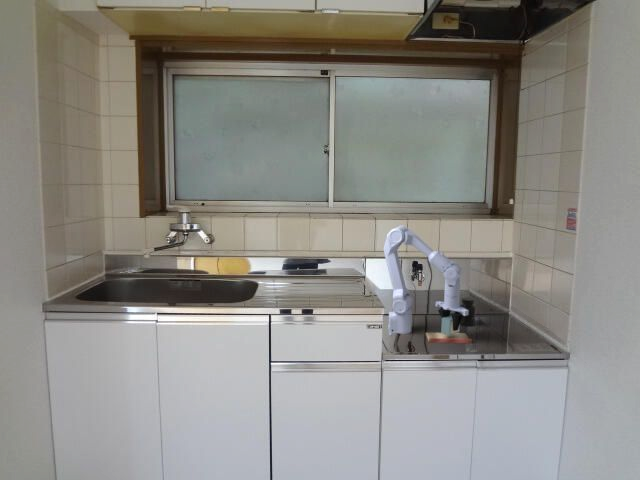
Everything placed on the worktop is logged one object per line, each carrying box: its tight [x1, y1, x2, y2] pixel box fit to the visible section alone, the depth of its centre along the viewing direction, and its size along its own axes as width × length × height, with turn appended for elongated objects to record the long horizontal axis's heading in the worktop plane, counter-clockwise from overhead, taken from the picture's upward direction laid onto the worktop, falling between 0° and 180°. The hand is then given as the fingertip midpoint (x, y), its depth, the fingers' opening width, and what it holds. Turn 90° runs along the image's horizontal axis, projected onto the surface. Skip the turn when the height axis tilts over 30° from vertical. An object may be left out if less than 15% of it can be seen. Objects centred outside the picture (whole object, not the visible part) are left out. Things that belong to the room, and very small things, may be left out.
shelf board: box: [425, 332, 473, 344], centre depth 177 cm, size 16×10×2 cm, turn 85°
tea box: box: [440, 314, 461, 336], centre depth 176 cm, size 4×6×6 cm
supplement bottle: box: [459, 297, 477, 328], centre depth 191 cm, size 7×7×12 cm
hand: (450, 328), depth 176 cm, fingers closed on tea box, 4 cm apart
